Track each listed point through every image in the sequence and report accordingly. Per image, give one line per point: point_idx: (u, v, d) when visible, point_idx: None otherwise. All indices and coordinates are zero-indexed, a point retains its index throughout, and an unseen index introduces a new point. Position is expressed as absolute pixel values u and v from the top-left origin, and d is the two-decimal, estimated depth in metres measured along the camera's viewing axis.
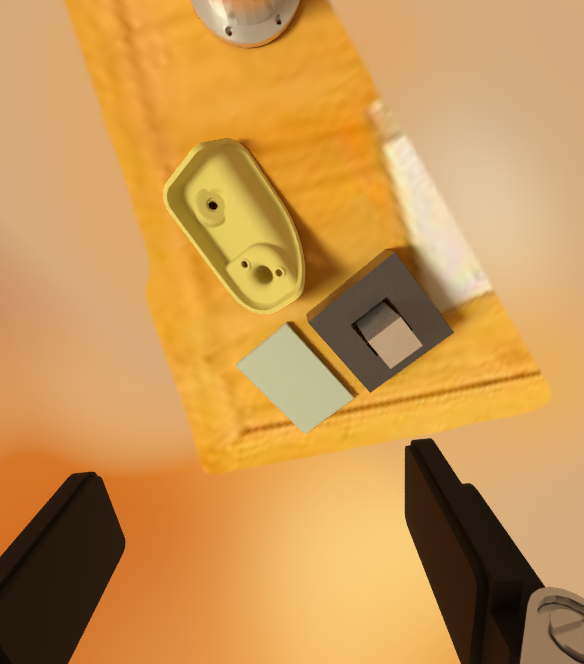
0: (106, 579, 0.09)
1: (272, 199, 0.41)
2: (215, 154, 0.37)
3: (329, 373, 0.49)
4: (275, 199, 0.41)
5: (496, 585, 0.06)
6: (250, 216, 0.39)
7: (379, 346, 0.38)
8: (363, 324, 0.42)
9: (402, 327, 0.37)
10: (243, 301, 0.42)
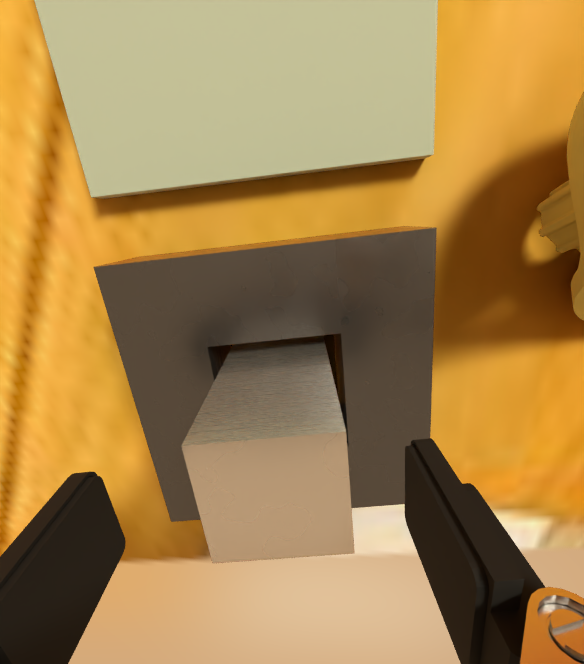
0: (106, 579, 0.09)
1: None
2: None
3: (211, 177, 0.15)
4: None
5: (496, 585, 0.06)
6: None
7: (300, 455, 0.09)
8: None
9: (314, 544, 0.10)
10: None
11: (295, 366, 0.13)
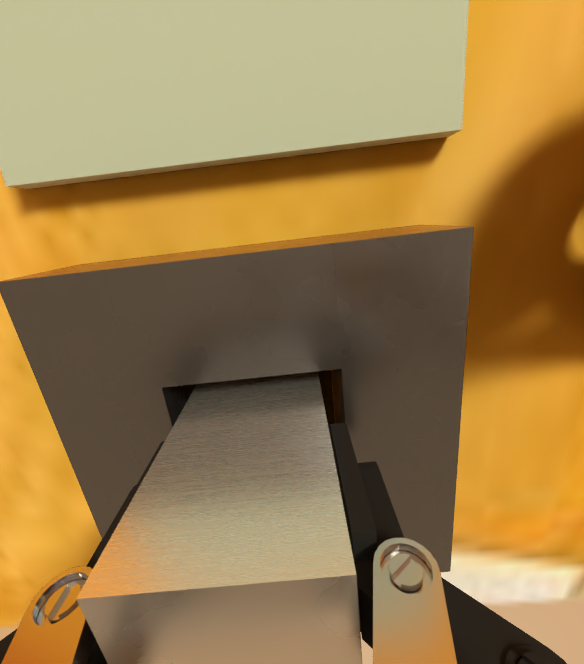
0: None
1: None
2: None
3: (167, 159, 0.11)
4: None
5: (354, 535, 0.07)
6: None
7: (280, 609, 0.05)
8: None
9: None
10: None
11: (278, 418, 0.10)
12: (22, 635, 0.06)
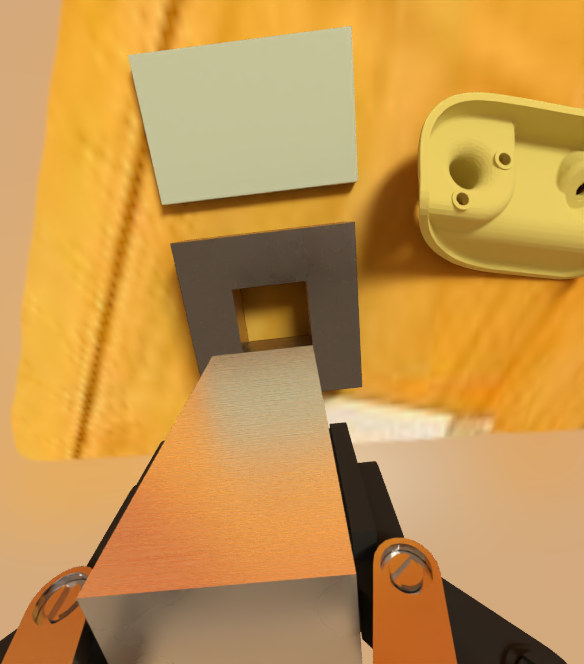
0: None
1: (503, 264, 0.29)
2: None
3: (232, 193, 0.26)
4: (499, 267, 0.29)
5: (354, 535, 0.07)
6: (537, 225, 0.25)
7: (280, 608, 0.05)
8: None
9: None
10: (466, 102, 0.22)
11: (278, 418, 0.10)
12: (22, 635, 0.06)
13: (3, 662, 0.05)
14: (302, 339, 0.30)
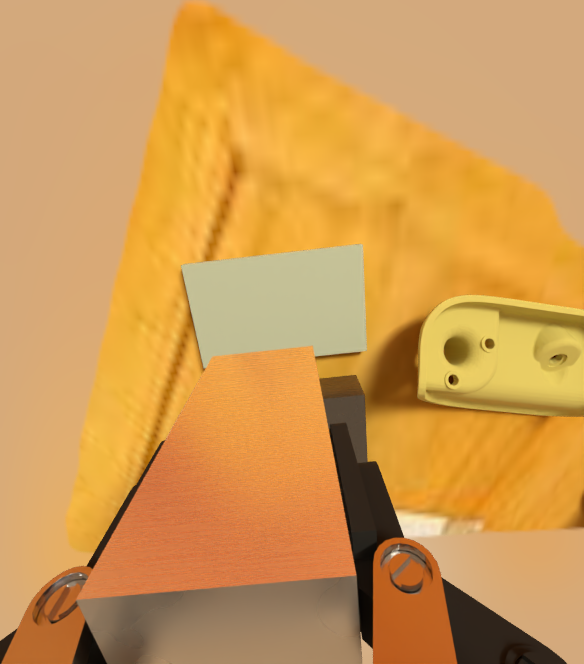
0: None
1: (487, 405, 0.34)
2: None
3: None
4: (484, 407, 0.34)
5: (354, 535, 0.07)
6: (515, 390, 0.30)
7: (280, 610, 0.05)
8: None
9: None
10: (459, 303, 0.27)
11: (278, 418, 0.09)
12: (22, 635, 0.06)
13: (3, 662, 0.05)
14: None
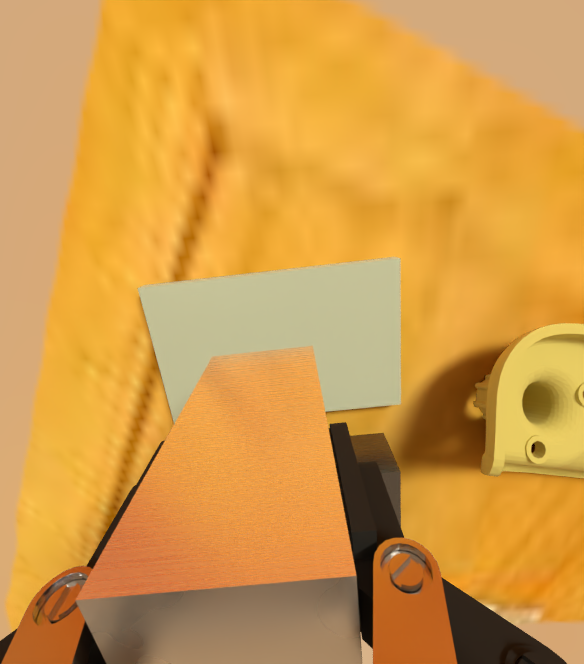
0: None
1: (560, 469, 0.24)
2: None
3: None
4: (556, 472, 0.24)
5: (354, 535, 0.07)
6: None
7: (280, 610, 0.05)
8: None
9: None
10: (553, 335, 0.18)
11: (278, 418, 0.09)
12: (22, 635, 0.06)
13: (3, 662, 0.05)
14: None
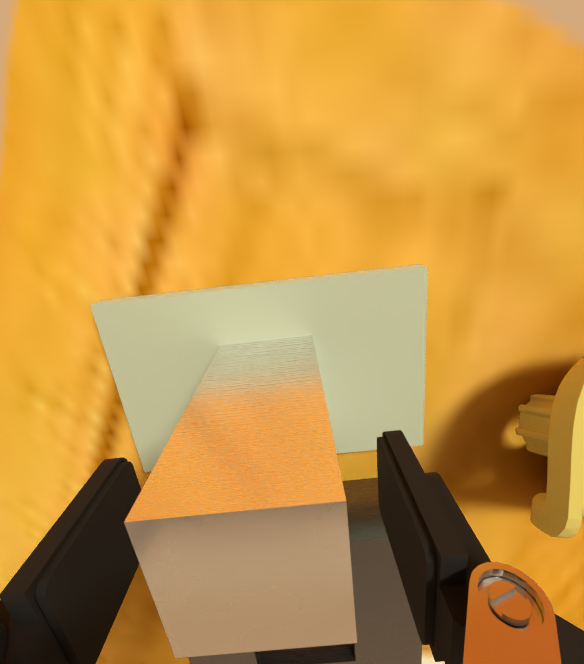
0: (137, 560, 0.10)
1: None
2: None
3: None
4: None
5: (442, 560, 0.06)
6: None
7: (285, 531, 0.07)
8: None
9: (305, 633, 0.08)
10: None
11: (282, 394, 0.11)
12: None
13: None
14: None
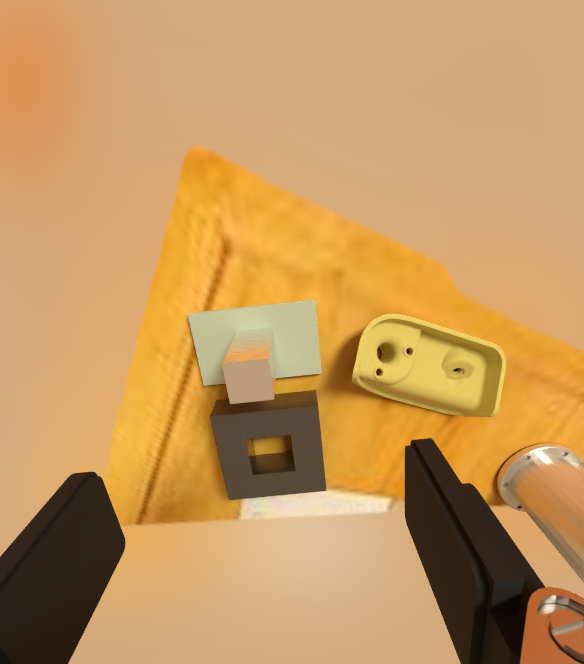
0: (106, 579, 0.09)
1: (407, 399, 0.45)
2: (472, 407, 0.43)
3: None
4: (404, 400, 0.45)
5: (496, 585, 0.06)
6: (424, 388, 0.41)
7: (255, 366, 0.32)
8: (271, 346, 0.37)
9: (261, 396, 0.33)
10: (392, 318, 0.38)
11: (258, 343, 0.36)
12: None
13: None
14: (289, 456, 0.48)
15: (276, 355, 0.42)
